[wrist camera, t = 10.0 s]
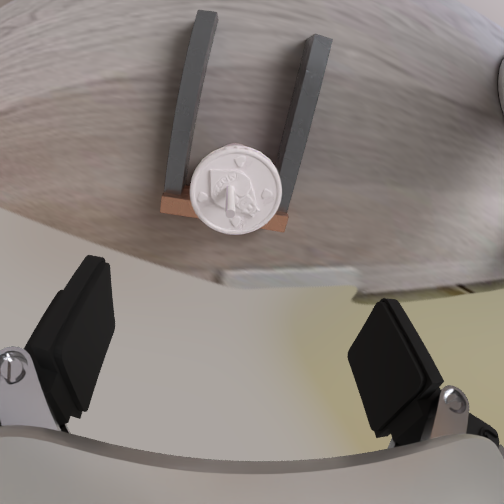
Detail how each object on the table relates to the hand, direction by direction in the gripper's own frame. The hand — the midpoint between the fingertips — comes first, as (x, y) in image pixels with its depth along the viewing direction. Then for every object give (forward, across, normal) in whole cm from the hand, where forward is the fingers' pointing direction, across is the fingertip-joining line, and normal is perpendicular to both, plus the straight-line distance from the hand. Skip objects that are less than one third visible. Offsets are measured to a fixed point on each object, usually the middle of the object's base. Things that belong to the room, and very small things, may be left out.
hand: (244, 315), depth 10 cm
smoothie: (+22, 0, 0) cm, 22 cm away
